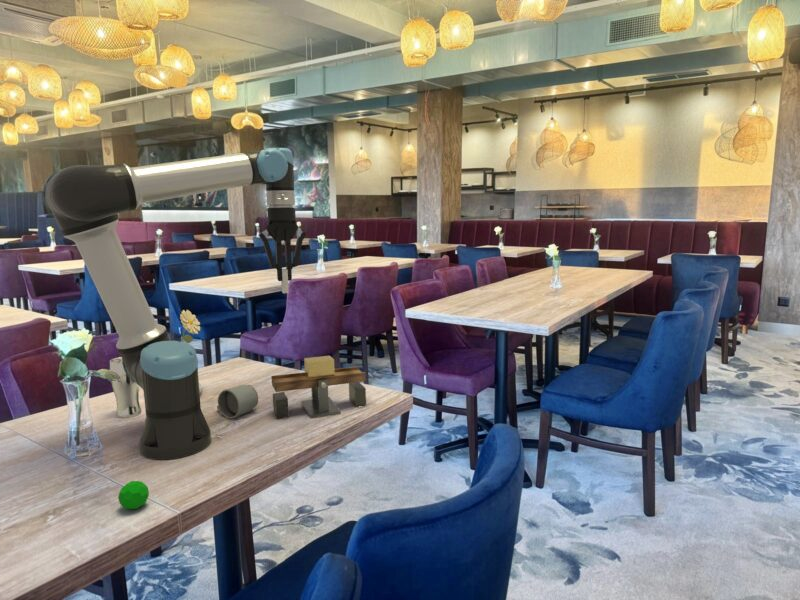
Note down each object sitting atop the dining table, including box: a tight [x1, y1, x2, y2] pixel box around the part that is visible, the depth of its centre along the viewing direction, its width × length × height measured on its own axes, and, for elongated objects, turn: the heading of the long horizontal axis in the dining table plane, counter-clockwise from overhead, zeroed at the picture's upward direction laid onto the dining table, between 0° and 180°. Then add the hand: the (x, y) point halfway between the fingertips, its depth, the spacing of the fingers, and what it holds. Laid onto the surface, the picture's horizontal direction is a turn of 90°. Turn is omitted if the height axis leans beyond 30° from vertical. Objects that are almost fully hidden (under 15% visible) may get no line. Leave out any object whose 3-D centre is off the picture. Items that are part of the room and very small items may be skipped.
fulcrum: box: [272, 379, 367, 420], centre depth 150 cm, size 24×12×9 cm, turn 111°
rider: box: [303, 355, 335, 379], centre depth 149 cm, size 7×5×5 cm, turn 111°
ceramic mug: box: [216, 384, 259, 420], centre depth 148 cm, size 11×8×8 cm
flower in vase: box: [172, 309, 203, 393], centre depth 161 cm, size 13×11×25 cm
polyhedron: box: [117, 480, 150, 510], centre depth 102 cm, size 5×5×5 cm
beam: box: [270, 366, 367, 393], centre depth 149 cm, size 24×7×2 cm, turn 111°
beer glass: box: [109, 356, 142, 419], centre depth 148 cm, size 7×7×15 cm
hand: (285, 292), depth 156 cm, fingers closed
